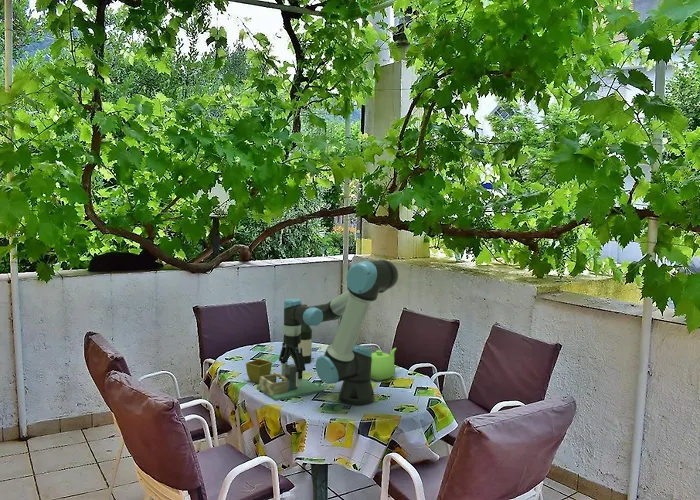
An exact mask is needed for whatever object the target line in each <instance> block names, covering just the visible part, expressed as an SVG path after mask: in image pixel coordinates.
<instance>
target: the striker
mask: <svg viewBox="0 0 700 500" xmlns="http://www.w3.org/2000/svg"><path fill="white" fill-rule="evenodd" d="M296 371H297V369H296V366H295V363H292V364H288V365H285V378H287V379H288V390H292V389H297V387H296ZM282 381H284V380H282V379H281V382H282Z"/></svg>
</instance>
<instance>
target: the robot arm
mask: <svg viewBox="0 0 700 500" xmlns="http://www.w3.org/2000/svg"><path fill="white" fill-rule="evenodd" d="M398 280H399V271H398V269H397V267H396V265H395V264H394V263H392V262H391V261H389V260H385V259H380V260H369V261H368V260H363V261H359V262H356V263H354V264H353V265H351V266H350V267H349V269H348V271H347V273H346V282H347V283H346V284H347V290H346V291H344V292H342V293H341V294H340V295H337V296H336V297H335V298H333V299H331V300H330V301H329V302H327V303H324V304H317V305H311V306H308V305H307V306H303V305H304V304H303V303H302V299H300V298H286V299H285V300H284V303H283V342H282V344H281V345H282V346H281V349H280V355H279V356H278V357H279V358H278V361H279V362H280V364H281V370H280V371H281V374H280V375H282V376H284V377H285V365H289V364H288V363H289V361H288V360H289V359H290V357H291V359H293V362H294V365H295V366H296V369H297V371H296V387H298V386H302V379H303V372H305V371H306V364H304V359H303V354H302V348H298V344H300V343H301V335H300V333H301V323H303V324H307V325H309V326H310V327H312V326H313V327H317V326H319V325H320V324H321V323H324V322H330V321H337V320H339V319H341V320H340V322H339V325H338V327H337V329H336V330H337V331H336V333H335V335H334V339H333V340H332V341H333V342H332V343H331V344H328V346H327V347H326V350H325V352H324V354H323V355H320V356H319V357H318V358H316V361H315V371H316V373H317V376H318V378H319V379H320V380H321V382H323V383H324V384H327V385H331V384H337V383H339V382H342V381H343V382H342V385H341V388H340V390H339V392H338V400H339V401H340V402H341V403H344V404H347V405H352V406H354V405H355V406H362V405H369V404H372V403H374V401H375V393H374V389H373V386H372V382H371V380H372V379H371V362H372V353H373V352H372V349H371V348H370V347H368V346H365V345H361V344H356V343H357V341H358V338H359V335H360V332H361V330H362V327H363V324H364V322H365V320H366V317H367V313H368V311H369V308H370V305H371V303H372V302H375V301H376V300H377V298H378V297H379V294H383V293H385V292H386V291H388V290H390V289H392V288H393V287H394V286H395V285H396V284H397V282H398Z"/></svg>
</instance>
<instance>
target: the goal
mask: <svg viewBox="0 0 700 500" xmlns="http://www.w3.org/2000/svg"><path fill="white" fill-rule="evenodd" d="M277 378H279V379H280V380H281V381H277ZM282 380H284V381H282ZM258 386H259V388H260V389H261V390H262V391H264V392H265V393H267V394H269V395H277V394H282V393H288V379H287V378H285V377H284V376H282V375H281V374H280V373H278V372H277V371H274V372H273V374H270V375H266V376H259V383H258Z"/></svg>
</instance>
